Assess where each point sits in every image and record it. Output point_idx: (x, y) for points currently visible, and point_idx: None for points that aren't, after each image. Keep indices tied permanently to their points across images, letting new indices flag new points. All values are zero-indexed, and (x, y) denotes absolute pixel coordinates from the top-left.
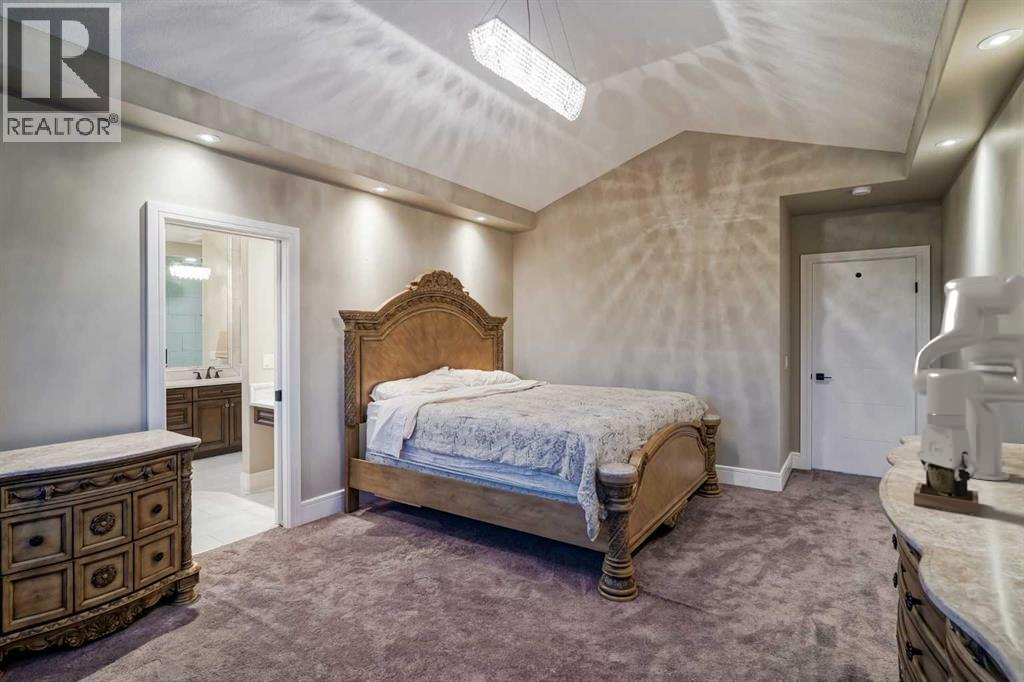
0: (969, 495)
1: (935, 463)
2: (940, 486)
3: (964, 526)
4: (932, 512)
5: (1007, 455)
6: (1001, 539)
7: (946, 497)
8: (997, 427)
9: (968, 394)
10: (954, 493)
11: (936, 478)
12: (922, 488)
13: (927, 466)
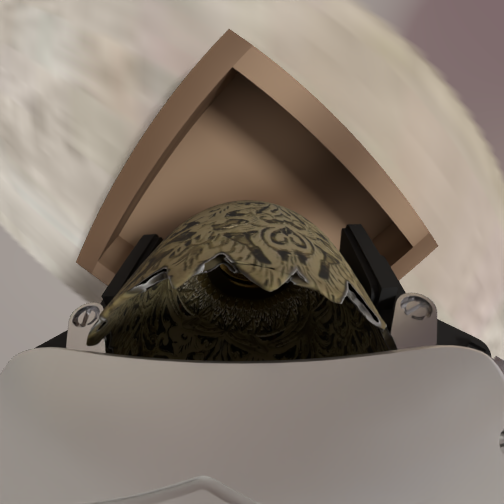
0: None
1: (223, 374)
2: (194, 215)
3: (7, 111)
4: (127, 70)
5: None
6: None
7: (142, 181)
8: None
9: None
10: (142, 240)
11: (197, 226)
12: (401, 235)
13: (372, 307)
